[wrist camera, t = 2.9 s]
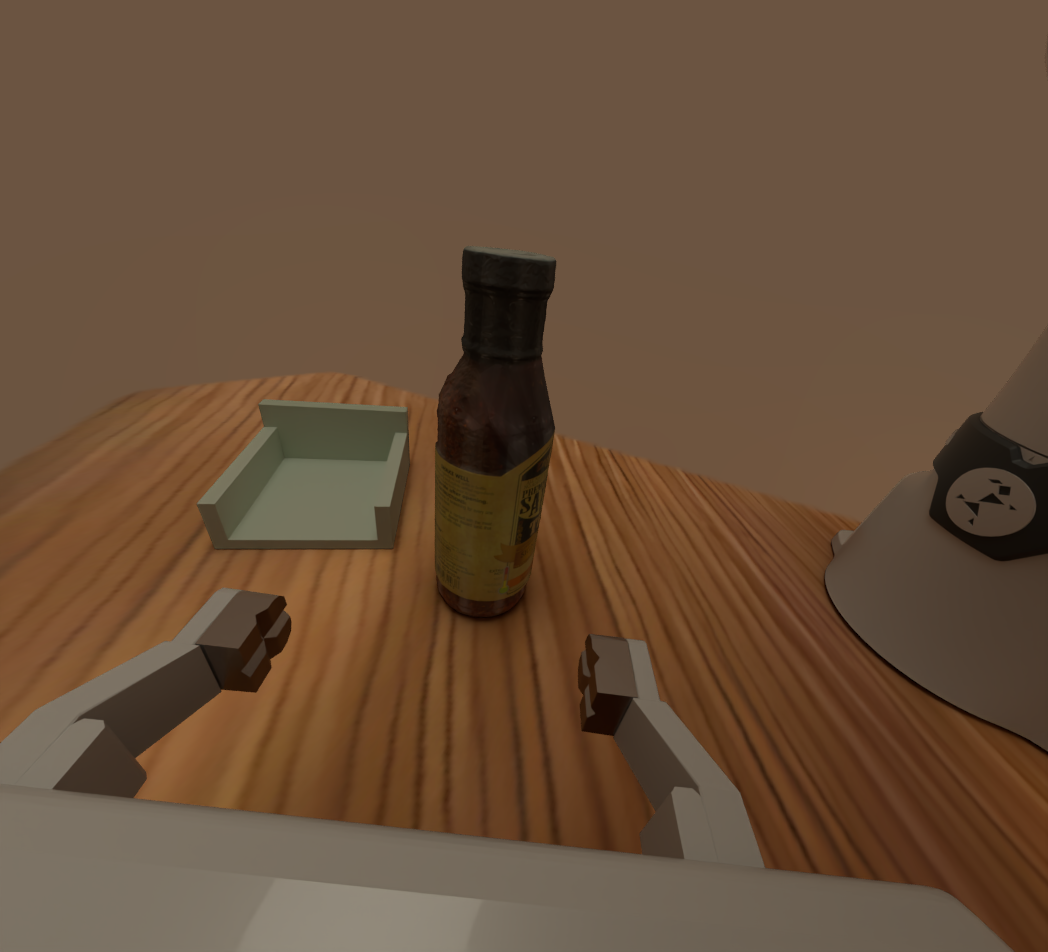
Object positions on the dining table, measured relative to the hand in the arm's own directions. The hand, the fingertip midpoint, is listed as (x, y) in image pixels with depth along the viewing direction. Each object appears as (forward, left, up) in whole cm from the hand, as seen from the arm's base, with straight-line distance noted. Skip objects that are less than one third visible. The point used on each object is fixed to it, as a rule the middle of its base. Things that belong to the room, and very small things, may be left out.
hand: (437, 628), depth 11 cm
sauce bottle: (-2, -12, -12) cm, 17 cm away
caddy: (+10, -21, -12) cm, 26 cm away
